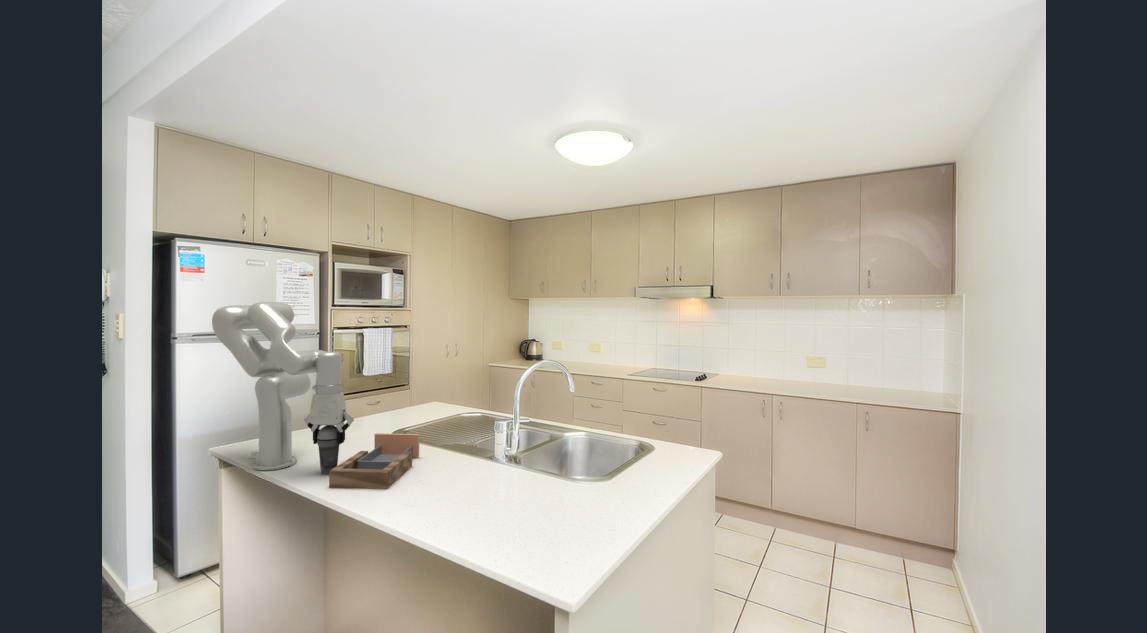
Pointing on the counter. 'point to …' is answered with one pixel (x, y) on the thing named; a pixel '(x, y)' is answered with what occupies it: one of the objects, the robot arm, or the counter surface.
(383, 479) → the housing
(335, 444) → the beverage cup
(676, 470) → the counter surface
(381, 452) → the tray
